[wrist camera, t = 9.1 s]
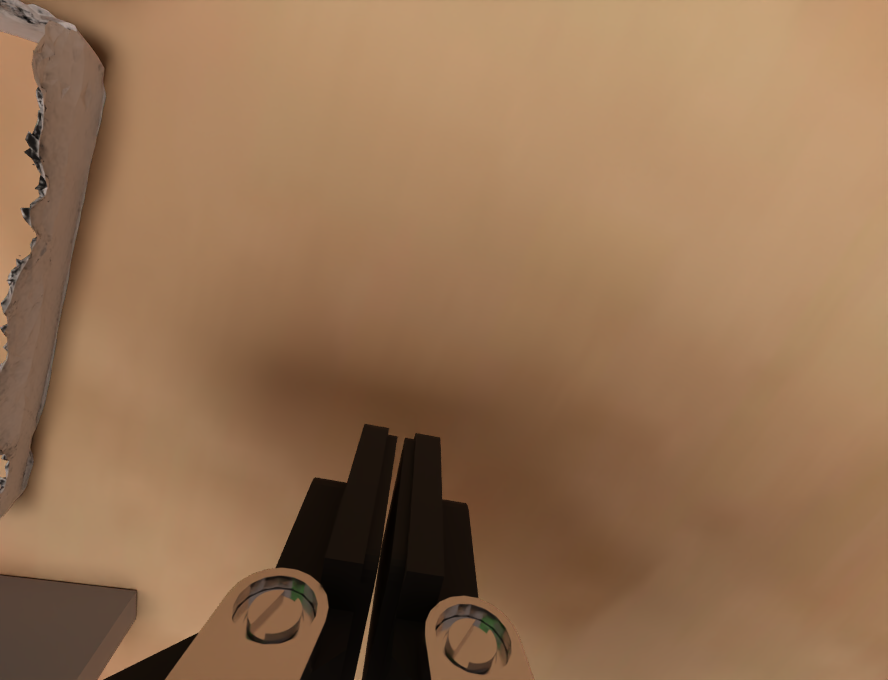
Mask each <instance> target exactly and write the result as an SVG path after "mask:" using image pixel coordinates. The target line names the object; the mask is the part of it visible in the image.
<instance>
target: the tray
mask: <svg viewBox="0 0 888 680" xmlns="http://www.w3.org/2000/svg"><path fill="white" fill-rule="evenodd" d="M135 619H136V591H134V590H125V589H117V588H108V587H99V586H90V585H81V584H73V583H64V582H55V581H46V580H37V579H29V578H20V577H11V576H2V575H0V680H97V679H98V678H99V676H100V675H101V673H102V671H103V670H104V668H105V667H106V665H107V663H108V662H109V660H110V659H111V657H112V656H113V654H114V652H115V651H116V649H117V648H118V646H119V645H120V643H121V641H122V640H123V638H124V637H125V635H126V633H127V632H128V630H129V629H130V627H131V626H132V624H133V622H134V621H135Z"/></svg>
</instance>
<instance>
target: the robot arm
mask: <svg viewBox="0 0 888 680" xmlns="http://www.w3.org/2000/svg"><path fill="white" fill-rule="evenodd" d="M388 431H389V428H385V427H379V426H374V425H369V424H364V427H363V431H362V434H361V438H360V441H359V444H358V448H357V451H356V454H355V458H354V461H353V464H352V468H351V471H350V474H349V478H348V481H347V483H345V482H339V481H333V480H328V479H322V478H316V477H315V478H314V479H313V481H312V483H311V485H310V488H309V490H308V492H307V495H306V497H305V499H304V502H303V504H302V507H301V509H300V511H299V514H298V516H297V518H296V521H295V523H294V526H293V528H292V530H291V533H290V535H289V537H288V540H287V542H286V545H285V547H284V549H283V552H282V554H281V556H280V559H279V561H278V564H277V566H276V568H273V569H266V570H263V571H260V572H256V573H253V574H251V575H249V576H248V577H246V578H244V579H243V580H241V581H239V582H238V583H237V584H236V585H235V586H234V587H233V588H232V589H231V590H230V591H229V592H228V593H227V595H226V596H225V598H224V599H223V600H222V602H221V603H220V604H219V606H218V607H217V609H216V610H215V611H214V613H213V614H212V615H211V617H210V618H209V620H208V621H207V622H206V624H205V625H204V626H203V628H202V629H201V631H200V632H199V633H197V634H195V635H193V636H191V637H189V638H187V639H185V640H183V641H181V642H179V643H177V644H175V645H173V646H171V647H169V648H167V649H164V650H162V651H160V652H158V653H156V654H154V655H152V656H150V657H148V658H146V659H144V660H142V661H140V662H138V663H136V664H134V665H132V666H130V667H128V668H126V669H124V670H122V671H120V672H118V673H116V674H114V675H112V676H110V677H108V678H106V679H104V680H354V677H355V672H356V668H357V663H358V658H359V654H360V649H361V644H362V640H363V635H364V631H365V626H366V621H367V617H368V612H369V607H370V603H371V598H372V593H373V589H374V584H375V579H376V574H377V580H376V587H375V594H374V601H373V607H372V614H371V621H370V628H369V635H368V642H367V648H366V655H365V662H364V669H363V676H362V680H534V677H533V674H532V671H531V668H530V665H529V662H528V659H527V657H526V654H525V651H524V648H523V645H522V642H521V639H520V637H519V635H518V633H517V631H516V629H515V627H514V625H513V623H512V622H511V621H510V620H509V619H508V618H507V617H506V615H505V614H504V613H503V612H502V611H500V610H499V609H497V608H496V607H495V606H493V605H492V604H490V603H488V602H486V601H483V600H481V599H478V590H477V581H476V572H475V563H474V554H473V545H472V536H471V527H470V519H469V510H468V505H467V504H466V503H461V502H455V501H449V500H444V499H442V478H441V444H440V438H439V437H434V436H429V435H423V434H418V433H416V434H415V437H414V439H408V438H405V440H404V444H403V449H402V454H401V458H400V463H399V468H398V472H397V477H396V481H395V486H394V491H393V495H392V500H391V505H390V509H389V514H388V519H387V523H386V528H385V533H384V537H383V531H384V524H385V518H386V511H387V504H388V497H389V490H390V484H391V477H392V470H393V463H394V457H395V450H396V443H397V436H392V435H388ZM382 538H383V542H382ZM381 545H382V548H381ZM380 551H381V553H380ZM379 558H380V560H379ZM378 563H379V567H378ZM377 569H378V573H377Z"/></svg>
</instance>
